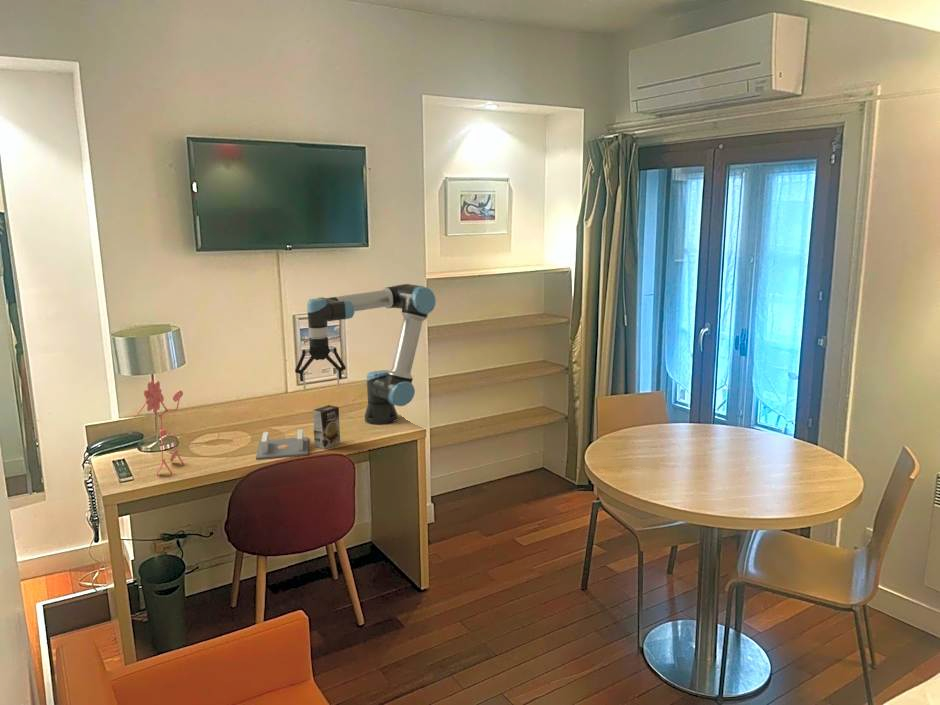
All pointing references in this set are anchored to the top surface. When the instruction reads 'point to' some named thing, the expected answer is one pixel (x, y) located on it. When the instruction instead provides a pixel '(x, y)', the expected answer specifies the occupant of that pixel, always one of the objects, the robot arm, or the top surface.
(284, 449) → the collar base
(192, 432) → the top surface
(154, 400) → the figurine
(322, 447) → the coffee box
